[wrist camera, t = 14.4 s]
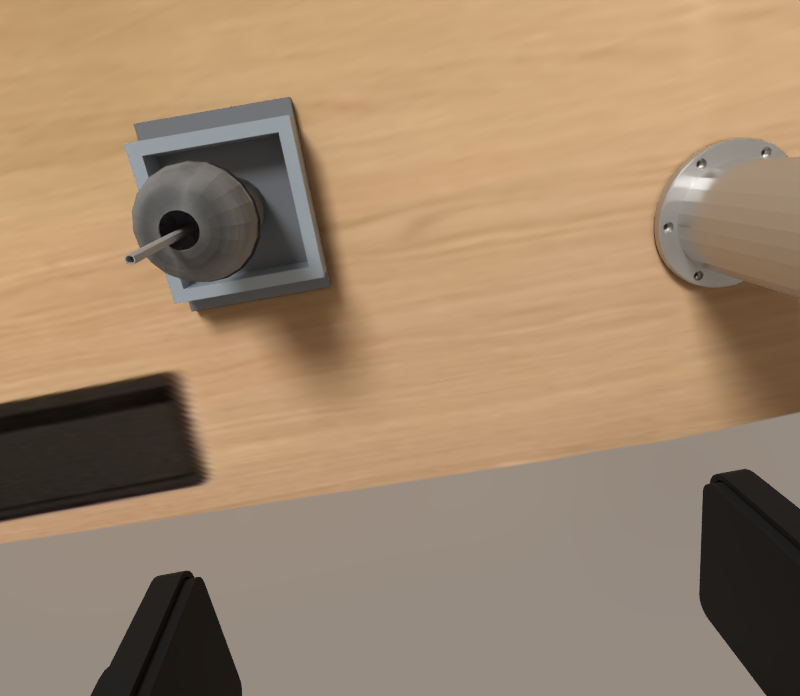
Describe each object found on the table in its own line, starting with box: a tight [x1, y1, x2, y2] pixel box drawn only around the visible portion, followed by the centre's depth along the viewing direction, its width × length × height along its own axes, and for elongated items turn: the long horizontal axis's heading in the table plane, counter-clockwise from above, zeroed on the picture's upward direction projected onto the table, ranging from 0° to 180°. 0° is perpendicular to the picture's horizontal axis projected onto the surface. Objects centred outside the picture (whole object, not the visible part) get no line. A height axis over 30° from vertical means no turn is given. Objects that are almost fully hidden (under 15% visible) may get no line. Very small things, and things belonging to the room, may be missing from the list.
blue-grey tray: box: [124, 97, 331, 312], centre depth 42 cm, size 12×15×4 cm
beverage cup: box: [124, 159, 266, 282], centre depth 33 cm, size 7×7×20 cm
